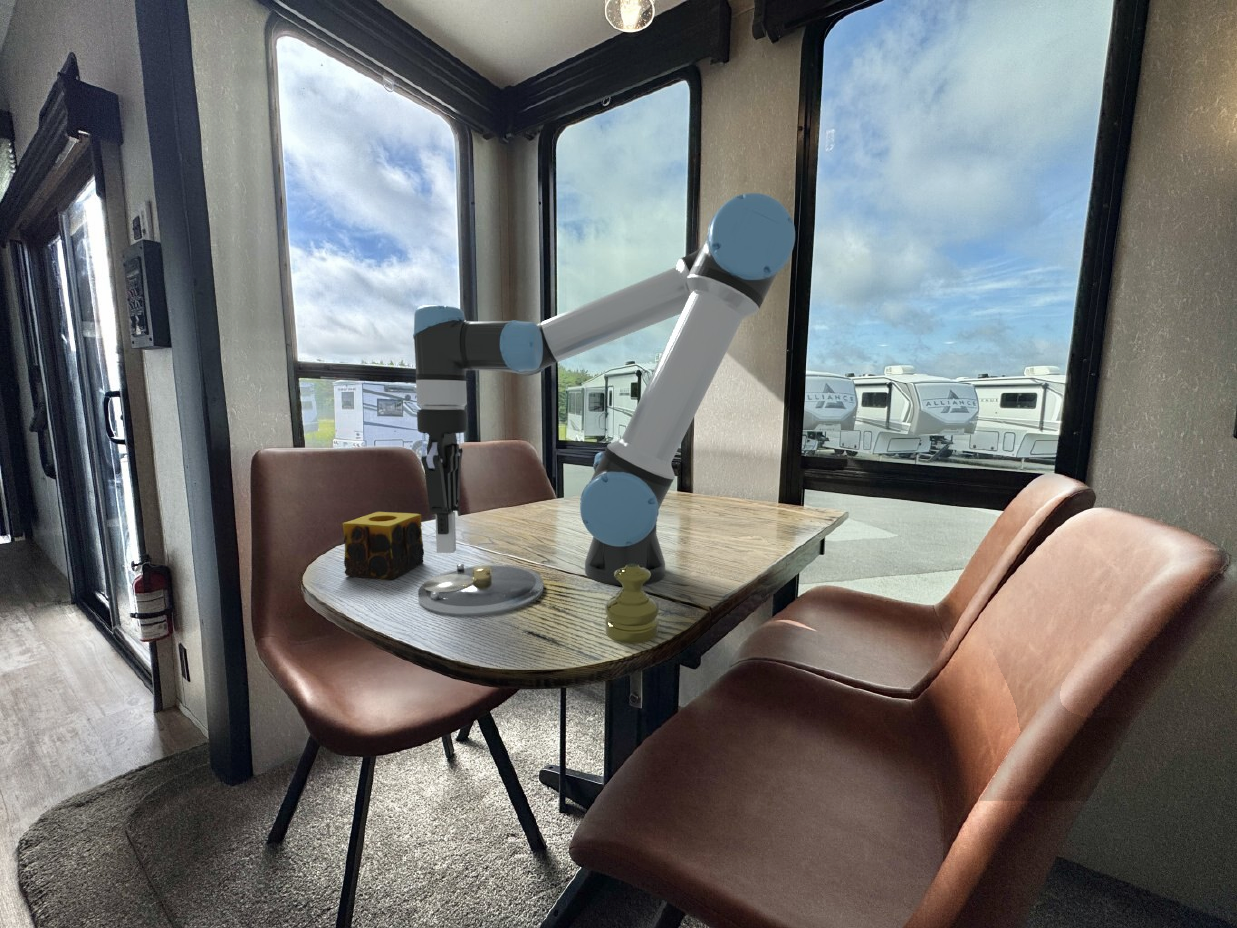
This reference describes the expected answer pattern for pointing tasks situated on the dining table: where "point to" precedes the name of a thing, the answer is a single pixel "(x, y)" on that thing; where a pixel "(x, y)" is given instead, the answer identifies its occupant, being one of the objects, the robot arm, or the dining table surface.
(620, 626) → the gold pawn
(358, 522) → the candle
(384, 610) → the dining table surface
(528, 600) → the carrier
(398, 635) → the dining table surface
